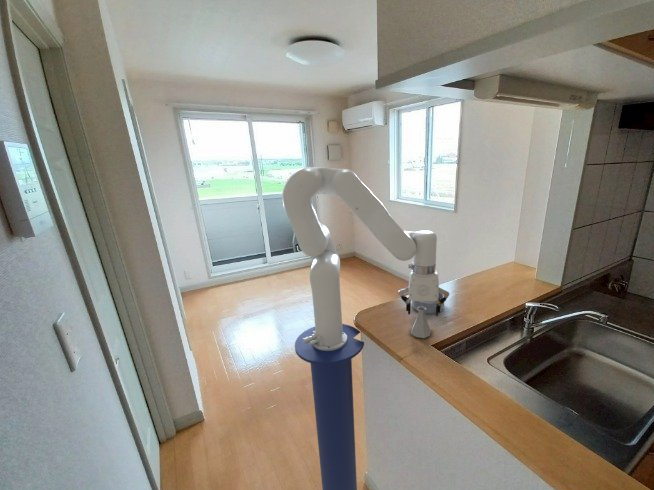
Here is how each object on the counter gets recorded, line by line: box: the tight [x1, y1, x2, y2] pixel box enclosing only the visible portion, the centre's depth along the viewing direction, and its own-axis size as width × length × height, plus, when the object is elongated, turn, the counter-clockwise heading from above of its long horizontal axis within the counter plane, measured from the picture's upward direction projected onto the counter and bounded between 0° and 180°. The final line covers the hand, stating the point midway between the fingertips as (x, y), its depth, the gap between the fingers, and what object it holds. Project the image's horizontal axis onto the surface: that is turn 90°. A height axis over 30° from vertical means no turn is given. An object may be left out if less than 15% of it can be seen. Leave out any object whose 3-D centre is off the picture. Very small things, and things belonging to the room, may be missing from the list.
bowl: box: [411, 293, 445, 315], centre depth 132 cm, size 13×13×5 cm
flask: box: [410, 307, 432, 339], centre depth 111 cm, size 7×7×10 cm
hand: (422, 313), depth 110 cm, fingers open, 9 cm apart
